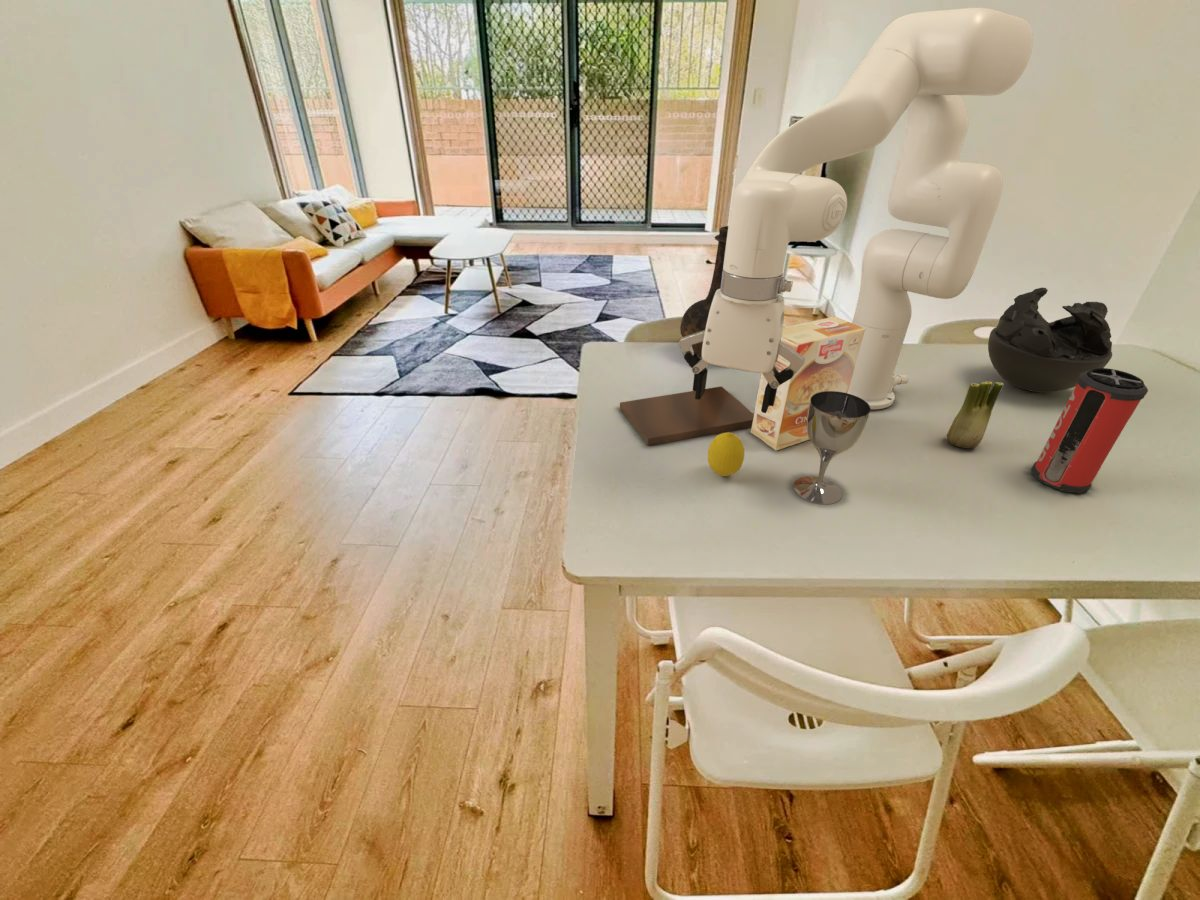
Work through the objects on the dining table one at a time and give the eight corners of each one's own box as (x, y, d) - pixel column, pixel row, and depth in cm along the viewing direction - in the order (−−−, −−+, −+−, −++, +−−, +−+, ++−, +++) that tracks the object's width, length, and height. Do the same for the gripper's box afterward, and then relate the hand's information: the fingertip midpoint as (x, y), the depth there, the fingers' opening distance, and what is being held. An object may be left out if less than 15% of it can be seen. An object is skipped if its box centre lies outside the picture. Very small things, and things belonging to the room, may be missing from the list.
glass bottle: (770, 353, 131) (793, 227, 116) (728, 377, 120) (747, 241, 105) (707, 334, 141) (720, 215, 126) (663, 354, 130) (671, 227, 115)
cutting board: (720, 392, 114) (721, 386, 113) (758, 425, 103) (759, 418, 102) (619, 409, 108) (619, 402, 107) (647, 446, 97) (647, 438, 96)
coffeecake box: (776, 451, 95) (798, 344, 85) (748, 432, 101) (766, 329, 90) (839, 431, 101) (867, 327, 91) (810, 414, 106) (833, 314, 96)
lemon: (740, 487, 87) (748, 444, 82) (704, 483, 88) (710, 440, 83) (740, 468, 91) (747, 425, 87) (706, 464, 92) (711, 422, 88)
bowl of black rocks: (1104, 417, 106) (1158, 321, 95) (984, 401, 111) (1023, 308, 101) (1067, 374, 122) (1111, 288, 111) (964, 362, 127) (996, 278, 117)
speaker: (1091, 500, 84) (1156, 393, 74) (1030, 484, 88) (1085, 380, 78) (1086, 475, 90) (1146, 372, 80) (1029, 461, 93) (1080, 361, 83)
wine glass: (783, 476, 89) (801, 392, 81) (831, 473, 90) (854, 390, 82) (802, 507, 83) (824, 419, 75) (854, 504, 83) (881, 416, 75)
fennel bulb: (977, 440, 98) (1004, 378, 92) (983, 455, 95) (1011, 391, 88) (940, 435, 100) (964, 373, 94) (945, 449, 96) (970, 386, 90)
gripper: (822, 286, 73) (796, 403, 82) (693, 270, 79) (682, 381, 88) (816, 302, 67) (788, 426, 76) (677, 284, 73) (667, 401, 82)
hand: (731, 402), depth 82 cm, fingers open, 9 cm apart
